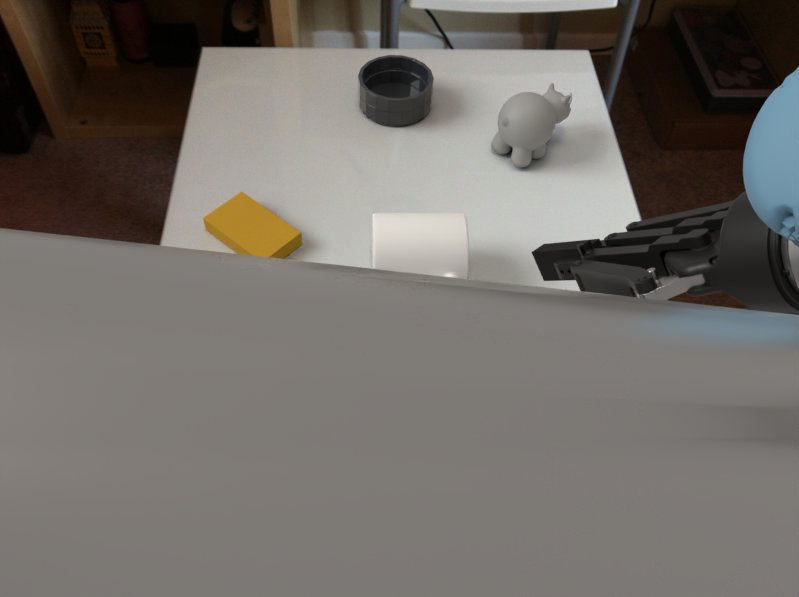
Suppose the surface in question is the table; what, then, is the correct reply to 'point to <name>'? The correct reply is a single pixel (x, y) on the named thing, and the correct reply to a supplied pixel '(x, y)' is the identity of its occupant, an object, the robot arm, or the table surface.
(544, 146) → the round bodied animal figurine
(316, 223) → the table surface
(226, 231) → the ochre rectangular brick
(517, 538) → the robot arm
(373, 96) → the dark grey round container
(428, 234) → the mug
